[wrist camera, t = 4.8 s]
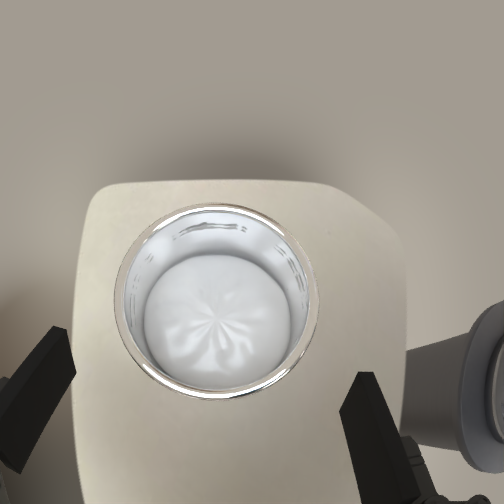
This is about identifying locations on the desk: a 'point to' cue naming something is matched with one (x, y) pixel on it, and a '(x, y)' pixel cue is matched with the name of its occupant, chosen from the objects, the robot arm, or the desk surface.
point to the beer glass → (216, 301)
